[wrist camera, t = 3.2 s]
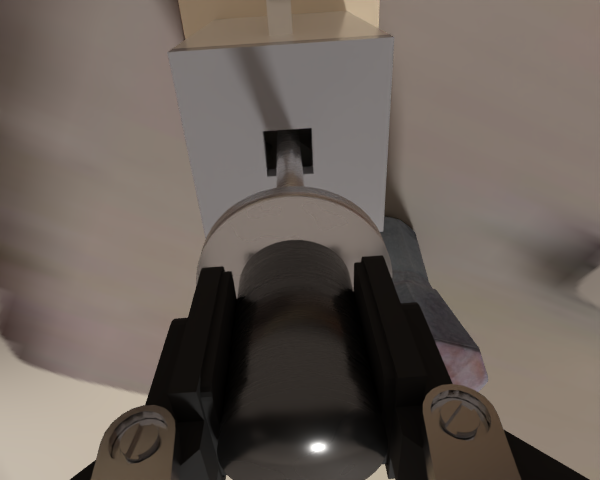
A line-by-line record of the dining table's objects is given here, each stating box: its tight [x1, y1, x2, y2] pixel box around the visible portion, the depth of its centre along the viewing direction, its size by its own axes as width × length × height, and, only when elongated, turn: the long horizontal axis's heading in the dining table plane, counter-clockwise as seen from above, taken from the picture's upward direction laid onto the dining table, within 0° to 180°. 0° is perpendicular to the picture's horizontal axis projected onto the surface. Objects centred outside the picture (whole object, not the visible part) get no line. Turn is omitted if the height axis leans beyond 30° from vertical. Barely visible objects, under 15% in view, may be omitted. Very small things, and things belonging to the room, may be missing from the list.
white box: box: [167, 0, 394, 238], centre depth 29 cm, size 15×19×18 cm
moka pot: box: [380, 217, 488, 392], centre depth 37 cm, size 10×15×20 cm, turn 51°
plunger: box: [196, 128, 392, 480], centre depth 18 cm, size 8×8×23 cm
